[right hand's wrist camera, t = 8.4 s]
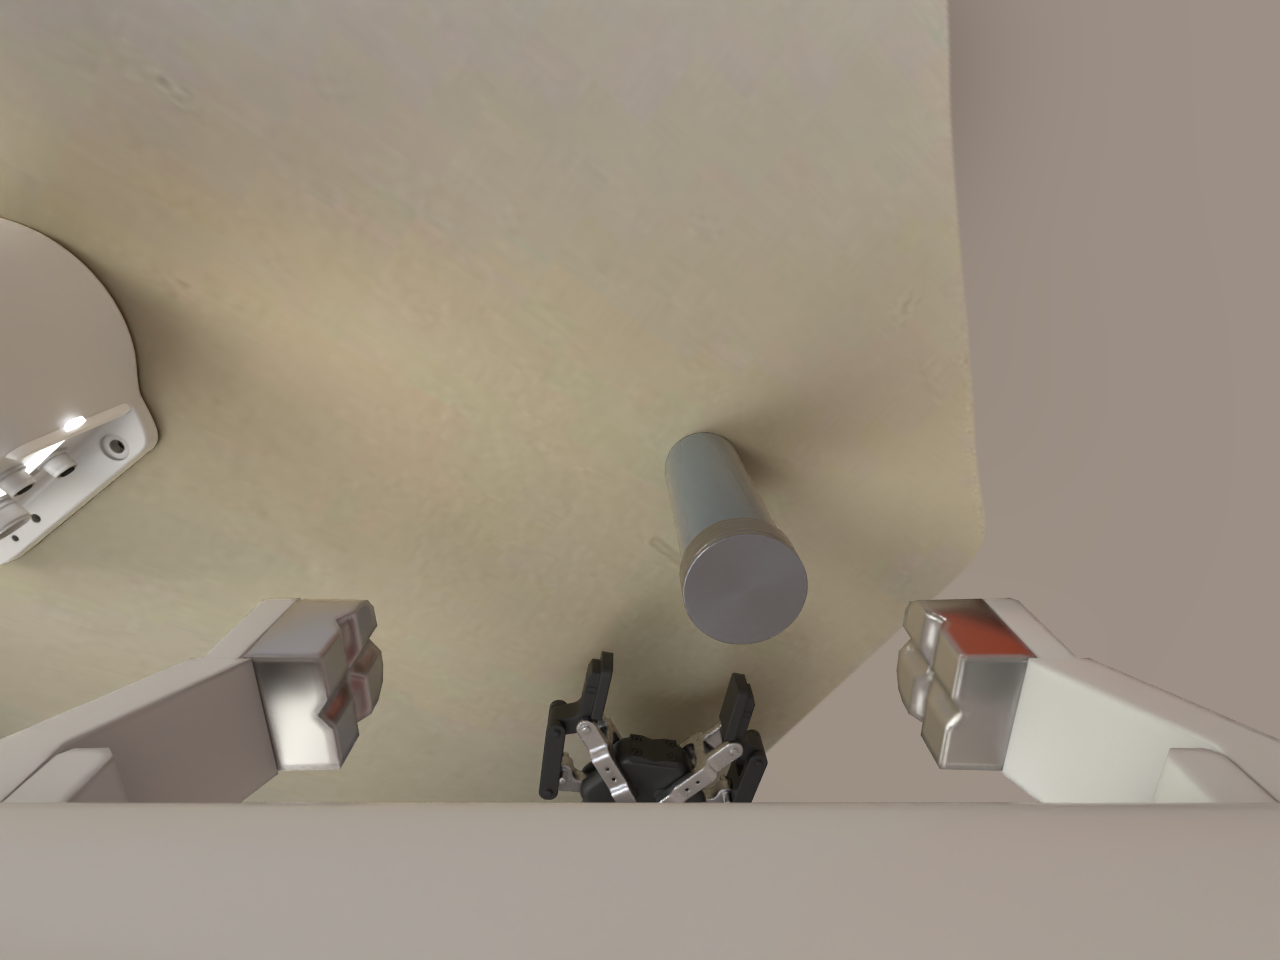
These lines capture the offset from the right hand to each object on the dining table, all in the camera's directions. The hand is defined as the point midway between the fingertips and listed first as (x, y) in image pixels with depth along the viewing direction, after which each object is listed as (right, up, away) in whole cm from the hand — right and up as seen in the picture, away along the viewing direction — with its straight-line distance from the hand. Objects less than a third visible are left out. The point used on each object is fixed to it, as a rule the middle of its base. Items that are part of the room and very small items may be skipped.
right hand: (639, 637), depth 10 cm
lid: (+5, -2, +19) cm, 20 cm away
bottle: (+4, +3, +34) cm, 34 cm away
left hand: (+2, -9, +32) cm, 33 cm away
